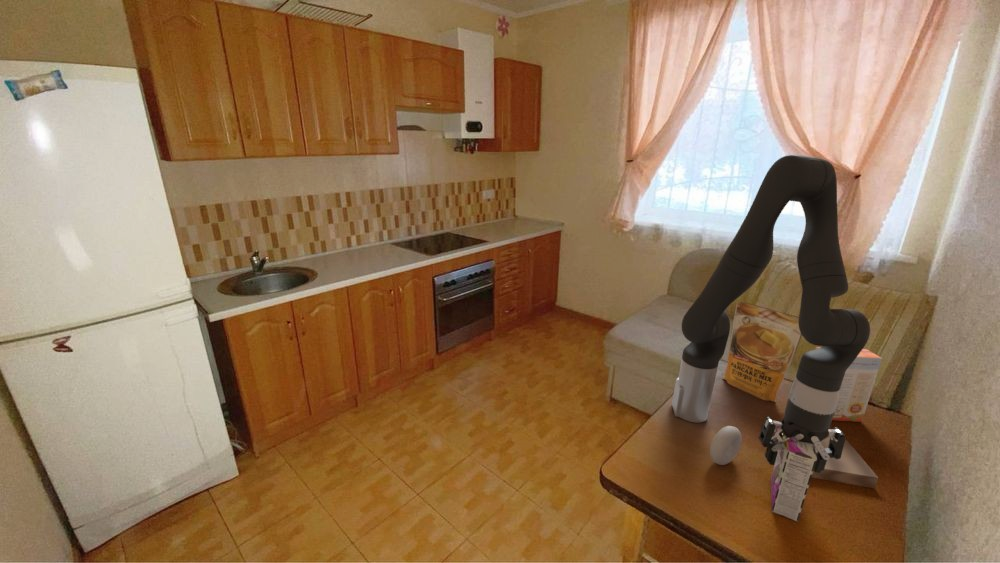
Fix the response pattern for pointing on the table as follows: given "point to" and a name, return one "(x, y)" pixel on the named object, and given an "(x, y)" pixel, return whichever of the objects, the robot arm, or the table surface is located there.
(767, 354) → the pancake mix bag
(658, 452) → the table surface
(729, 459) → the white oval stone
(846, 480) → the metal panel
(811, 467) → the candy bar box
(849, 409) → the cracker box
